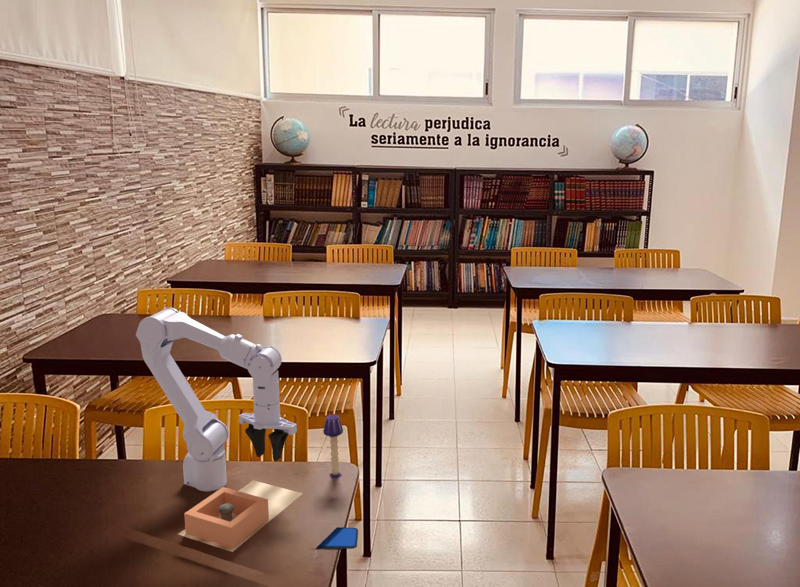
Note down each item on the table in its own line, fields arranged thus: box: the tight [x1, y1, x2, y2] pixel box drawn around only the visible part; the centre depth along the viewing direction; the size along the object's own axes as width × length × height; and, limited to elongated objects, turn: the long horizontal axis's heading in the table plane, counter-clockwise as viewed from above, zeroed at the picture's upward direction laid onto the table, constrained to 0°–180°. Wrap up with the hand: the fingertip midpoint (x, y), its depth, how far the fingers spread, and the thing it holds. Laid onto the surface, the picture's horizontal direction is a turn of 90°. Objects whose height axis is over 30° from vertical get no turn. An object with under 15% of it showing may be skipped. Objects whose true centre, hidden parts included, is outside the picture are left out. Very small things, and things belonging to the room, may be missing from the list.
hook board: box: [177, 479, 304, 553], centre depth 147 cm, size 14×25×6 cm, turn 155°
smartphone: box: [315, 526, 359, 550], centre depth 141 cm, size 7×1×15 cm
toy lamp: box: [322, 414, 344, 479], centre depth 163 cm, size 5×5×17 cm
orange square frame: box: [183, 486, 269, 548], centre depth 142 cm, size 12×12×4 cm
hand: (268, 457), depth 156 cm, fingers open, 4 cm apart
